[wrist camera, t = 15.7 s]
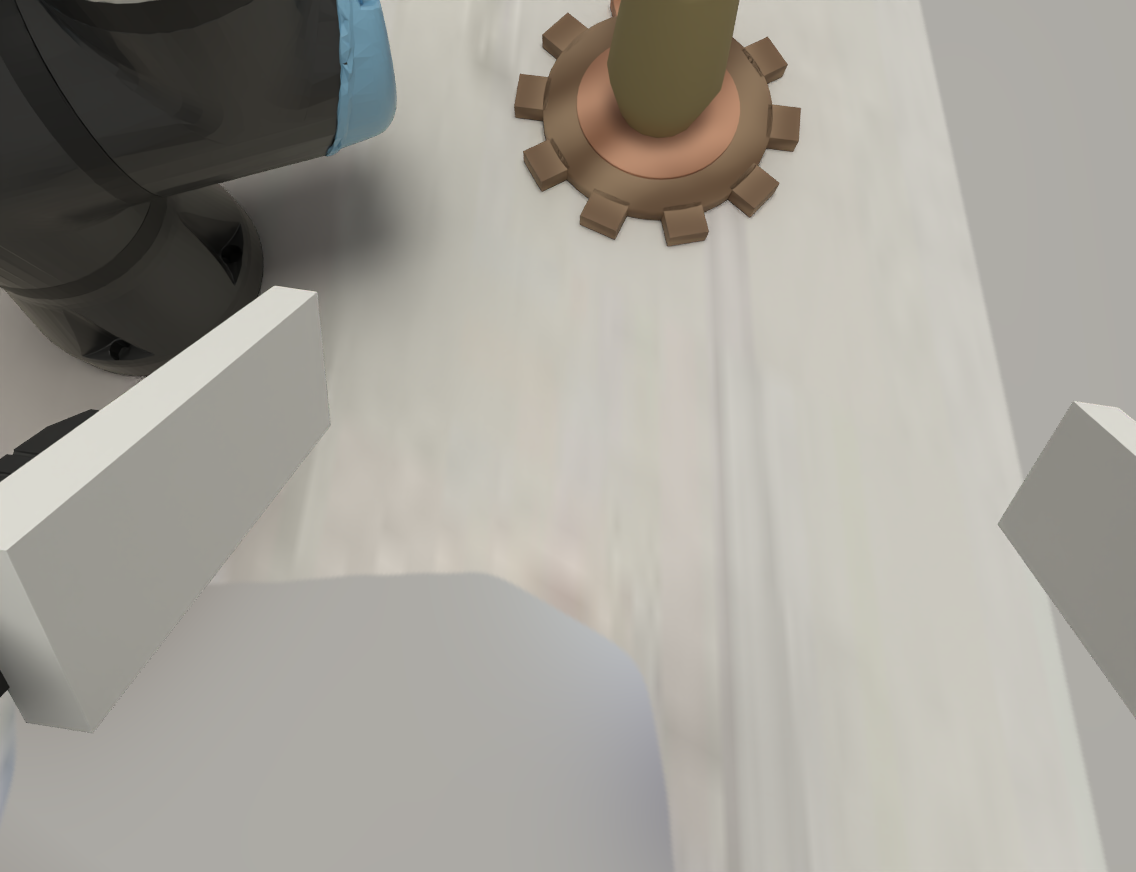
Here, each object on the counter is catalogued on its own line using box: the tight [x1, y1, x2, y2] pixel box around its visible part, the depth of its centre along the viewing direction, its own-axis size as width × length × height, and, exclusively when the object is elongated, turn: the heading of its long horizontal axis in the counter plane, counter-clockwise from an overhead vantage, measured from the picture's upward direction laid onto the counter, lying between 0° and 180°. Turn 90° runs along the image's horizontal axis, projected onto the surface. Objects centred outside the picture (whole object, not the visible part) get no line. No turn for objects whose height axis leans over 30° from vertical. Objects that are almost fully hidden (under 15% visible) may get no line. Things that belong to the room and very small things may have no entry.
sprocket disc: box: [514, 0, 801, 246], centre depth 49 cm, size 21×21×2 cm
